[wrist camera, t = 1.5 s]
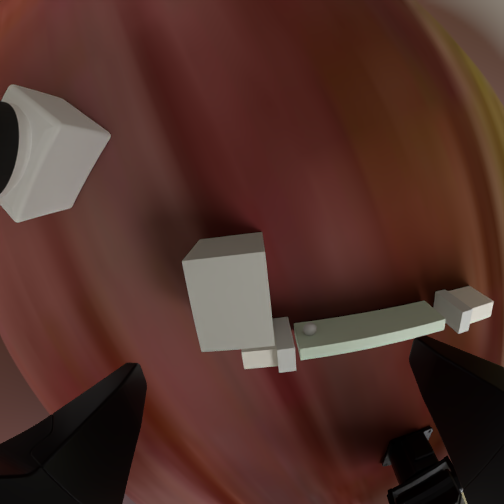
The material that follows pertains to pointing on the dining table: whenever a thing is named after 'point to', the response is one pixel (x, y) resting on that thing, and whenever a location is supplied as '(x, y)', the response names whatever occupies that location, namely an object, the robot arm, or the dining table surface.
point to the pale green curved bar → (366, 330)
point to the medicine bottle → (44, 152)
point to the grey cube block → (230, 292)
